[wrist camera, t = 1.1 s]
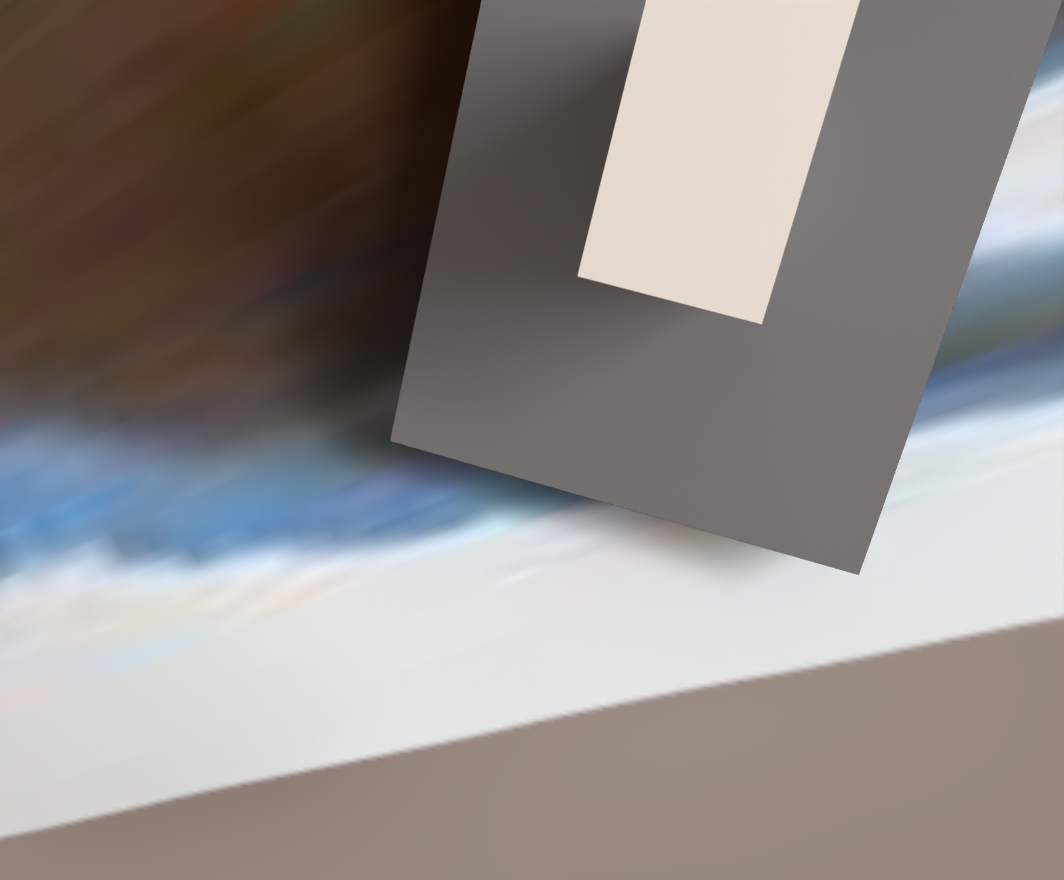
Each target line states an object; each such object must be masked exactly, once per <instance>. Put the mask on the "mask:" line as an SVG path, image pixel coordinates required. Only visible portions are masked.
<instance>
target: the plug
mask: <svg viewBox="0 0 1064 880" xmlns="http://www.w3.org/2000/svg"><path fill="white" fill-rule="evenodd" d="M859 2H860V0H646V3H645V7H644V11H643V15H642V19H641V23H640V27H639V31H638V35H637V39H636V43H635V47H634V51H633V55H632V59H631V63H630V67H629V71H628V75H627V79H626V83H625V87H624V91H623V95H622V99H621V103H620V107H619V111H618V115H617V119H616V123H615V127H614V131H613V135H612V139H611V143H610V147H609V151H608V155H607V159H606V163H605V167H604V171H603V175H602V179H601V183H600V187H599V191H598V195H597V199H596V203H595V207H594V211H593V215H592V219H591V223H590V227H589V231H588V235H587V240H586V244H585V248H584V252H583V256H582V260H581V264H580V268H579V272H578V277H582V278H586V279H590V280H594V281H598V282H601V283H605V284H609V285H613V286H617V287H621V288H624V289H628V290H632V291H636V292H640V293H644V294H647V295H651V296H655V297H659V298H663V299H667V300H670V301H674V302H678V303H682V304H686V305H690V306H694V307H697V308H701V309H705V310H709V311H713V312H717V313H720V314H724V315H728V316H732V317H736V318H740V319H743V320H747V321H751V322H755V323H759V324H762V322H763V319H764V316H765V312H766V309H767V306H768V302H769V299H770V296H771V292H772V289H773V286H774V283H775V279H776V276H777V273H778V269H779V266H780V263H781V259H782V256H783V253H784V250H785V246H786V243H787V240H788V236H789V233H790V230H791V226H792V223H793V220H794V217H795V213H796V210H797V207H798V203H799V200H800V197H801V193H802V190H803V187H804V184H805V180H806V177H807V174H808V170H809V167H810V164H811V160H812V157H813V154H814V151H815V147H816V144H817V141H818V137H819V134H820V131H821V127H822V124H823V121H824V117H825V114H826V111H827V108H828V104H829V101H830V98H831V94H832V91H833V88H834V84H835V81H836V78H837V75H838V71H839V68H840V65H841V61H842V58H843V55H844V51H845V48H846V45H847V42H848V38H849V35H850V32H851V28H852V25H853V22H854V18H855V15H856V12H857V9H858V5H859Z"/></svg>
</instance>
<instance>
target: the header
mask: <svg viewBox="0 0 1064 880" xmlns="http://www.w3.org/2000/svg"><path fill="white" fill-rule="evenodd" d="M1061 2H1062V0H860V2H859V5H858V9H857V12H856V15H855V18H854V22H853V25H852V28H851V32H850V35H849V38H848V42H847V45H846V48H845V51H844V55H843V58H842V61H841V65H840V68H839V71H838V75H837V78H836V81H835V84H834V88H833V91H832V94H831V98H830V101H829V104H828V108H827V111H826V114H825V117H824V121H823V124H822V127H821V131H820V134H819V137H818V141H817V144H816V147H815V151H814V154H813V157H812V160H811V164H810V167H809V170H808V174H807V177H806V180H805V184H804V187H803V190H802V193H801V197H800V200H799V203H798V207H797V210H796V213H795V217H794V220H793V223H792V226H791V230H790V233H789V236H788V240H787V243H786V246H785V250H784V253H783V256H782V259H781V263H780V266H779V269H778V273H777V276H776V279H775V283H774V286H773V289H772V292H771V296H770V299H769V302H768V306H767V309H766V312H765V316H764V319H763V322H762V324H759V323H755V322H751V321H747V320H743V319H740V318H736V317H732V316H728V315H724V314H720V313H717V312H713V311H709V310H705V309H701V308H697V307H694V306H690V305H686V304H682V303H678V302H674V301H670V300H667V299H663V298H659V297H655V296H651V295H647V294H644V293H640V292H636V291H632V290H628V289H624V288H621V287H617V286H613V285H609V284H605V283H601V282H598V281H594V280H590V279H586V278H582V277H578V272H579V268H580V264H581V260H582V256H583V252H584V248H585V244H586V240H587V235H588V231H589V227H590V223H591V219H592V215H593V211H594V207H595V203H596V199H597V195H598V191H599V187H600V183H601V179H602V175H603V171H604V167H605V163H606V159H607V155H608V151H609V147H610V143H611V139H612V135H613V131H614V127H615V123H616V119H617V115H618V111H619V107H620V103H621V99H622V95H623V91H624V87H625V83H626V79H627V75H628V71H629V67H630V63H631V59H632V55H633V51H634V47H635V43H636V39H637V35H638V31H639V27H640V23H641V19H642V15H643V11H644V7H645V3H646V0H481V5H480V10H479V15H478V20H477V24H476V29H475V34H474V39H473V44H472V49H471V53H470V58H469V63H468V68H467V73H466V77H465V82H464V87H463V92H462V97H461V102H460V106H459V111H458V116H457V121H456V126H455V130H454V135H453V140H452V145H451V150H450V155H449V159H448V164H447V169H446V174H445V179H444V183H443V188H442V193H441V198H440V203H439V208H438V212H437V217H436V222H435V227H434V232H433V237H432V241H431V246H430V251H429V256H428V261H427V265H426V270H425V275H424V280H423V285H422V290H421V294H420V299H419V304H418V309H417V314H416V318H415V323H414V328H413V333H412V338H411V343H410V347H409V352H408V357H407V362H406V367H405V371H404V376H403V381H402V386H401V391H400V396H399V400H398V405H397V410H396V415H395V420H394V424H393V429H392V434H391V439H390V441H392V442H395V443H399V444H402V445H406V446H409V447H413V448H416V449H420V450H423V451H427V452H430V453H434V454H437V455H441V456H444V457H448V458H451V459H455V460H458V461H462V462H465V463H469V464H472V465H476V466H479V467H483V468H486V469H490V470H493V471H497V472H500V473H504V474H507V475H511V476H514V477H518V478H521V479H525V480H528V481H532V482H535V483H539V484H542V485H546V486H549V487H553V488H556V489H560V490H563V491H567V492H570V493H574V494H577V495H581V496H584V497H588V498H591V499H595V500H598V501H602V502H605V503H609V504H612V505H616V506H619V507H623V508H626V509H630V510H633V511H637V512H640V513H644V514H647V515H651V516H654V517H658V518H661V519H665V520H668V521H672V522H675V523H679V524H682V525H686V526H689V527H693V528H696V529H700V530H703V531H707V532H710V533H714V534H717V535H721V536H724V537H728V538H731V539H735V540H738V541H742V542H745V543H749V544H752V545H756V546H759V547H763V548H766V549H770V550H773V551H777V552H780V553H784V554H787V555H791V556H794V557H798V558H801V559H805V560H808V561H812V562H815V563H819V564H822V565H826V566H829V567H833V568H836V569H840V570H843V571H847V572H850V573H854V574H857V575H859V573H860V570H861V567H862V564H863V562H864V559H865V556H866V553H867V550H868V547H869V545H870V542H871V539H872V536H873V533H874V531H875V528H876V525H877V522H878V519H879V516H880V514H881V511H882V508H883V505H884V502H885V499H886V497H887V494H888V491H889V488H890V485H891V482H892V480H893V477H894V474H895V471H896V468H897V466H898V463H899V460H900V457H901V454H902V451H903V449H904V446H905V443H906V440H907V437H908V434H909V432H910V429H911V426H912V423H913V420H914V418H915V415H916V412H917V409H918V406H919V403H920V401H921V398H922V395H923V392H924V389H925V386H926V384H927V381H928V378H929V375H930V372H931V369H932V367H933V364H934V361H935V358H936V355H937V353H938V350H939V347H940V344H941V341H942V338H943V336H944V333H945V330H946V327H947V324H948V321H949V319H950V316H951V313H952V310H953V307H954V304H955V302H956V299H957V296H958V293H959V290H960V288H961V285H962V282H963V279H964V276H965V273H966V271H967V268H968V265H969V262H970V259H971V256H972V254H973V251H974V248H975V245H976V242H977V239H978V237H979V234H980V231H981V228H982V225H983V223H984V220H985V217H986V214H987V211H988V208H989V206H990V203H991V200H992V197H993V194H994V191H995V189H996V186H997V183H998V180H999V177H1000V174H1001V172H1002V169H1003V166H1004V163H1005V160H1006V158H1007V155H1008V152H1009V149H1010V146H1011V143H1012V141H1013V138H1014V135H1015V132H1016V129H1017V126H1018V124H1019V121H1020V118H1021V115H1022V112H1023V109H1024V107H1025V104H1026V101H1027V98H1028V95H1029V93H1030V90H1031V87H1032V84H1033V81H1034V78H1035V76H1036V73H1037V70H1038V67H1039V64H1040V61H1041V59H1042V56H1043V53H1044V50H1045V47H1046V45H1047V42H1048V39H1049V36H1050V33H1051V30H1052V28H1053V25H1054V22H1055V19H1056V16H1057V13H1058V11H1059V8H1060V5H1061Z"/></svg>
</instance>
